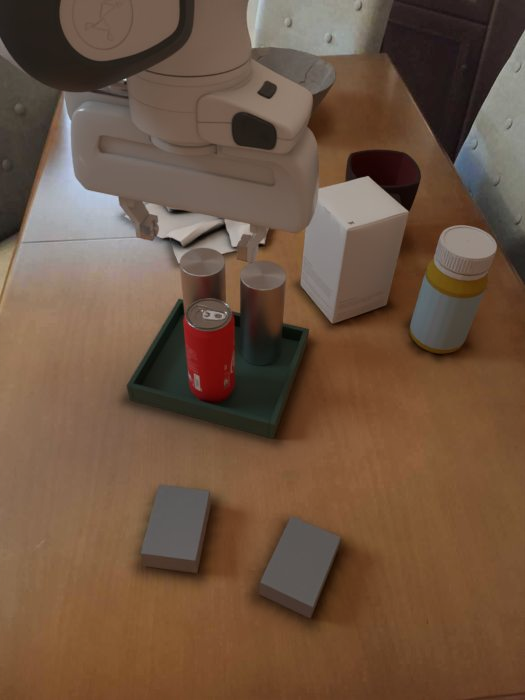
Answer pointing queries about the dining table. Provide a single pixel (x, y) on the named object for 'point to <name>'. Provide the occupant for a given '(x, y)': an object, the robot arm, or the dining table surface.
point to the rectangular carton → (352, 248)
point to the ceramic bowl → (299, 69)
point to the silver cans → (241, 299)
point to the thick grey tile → (176, 529)
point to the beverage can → (210, 349)
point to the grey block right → (299, 566)
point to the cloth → (197, 230)
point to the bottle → (452, 289)
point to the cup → (387, 173)
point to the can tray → (250, 380)
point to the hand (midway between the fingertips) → (196, 246)
